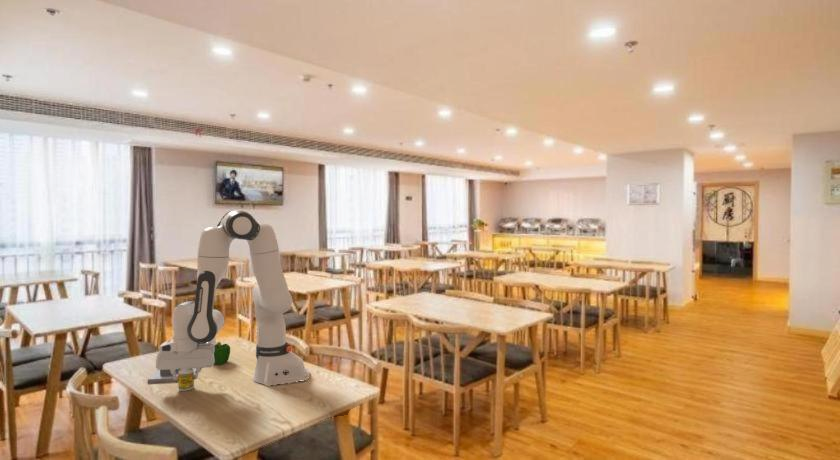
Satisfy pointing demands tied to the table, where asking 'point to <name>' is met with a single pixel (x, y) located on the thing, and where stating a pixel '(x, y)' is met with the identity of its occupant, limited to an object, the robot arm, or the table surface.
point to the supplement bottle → (185, 378)
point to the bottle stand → (164, 376)
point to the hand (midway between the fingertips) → (186, 379)
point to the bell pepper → (221, 353)
